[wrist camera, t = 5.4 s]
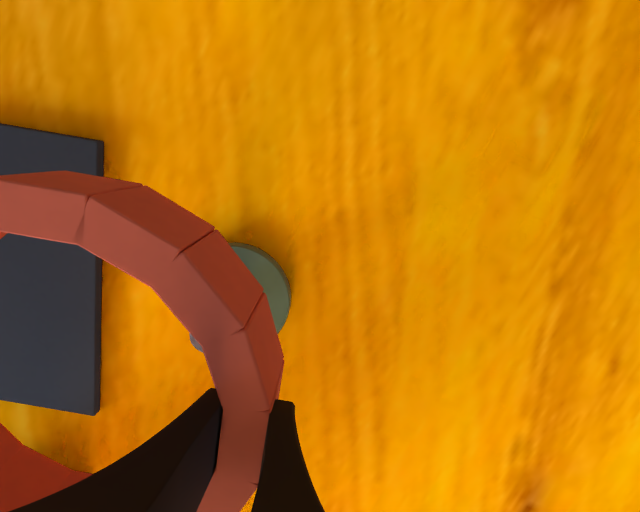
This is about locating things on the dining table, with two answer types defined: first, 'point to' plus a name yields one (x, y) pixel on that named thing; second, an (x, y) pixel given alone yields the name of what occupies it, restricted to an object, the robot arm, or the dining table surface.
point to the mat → (49, 289)
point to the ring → (180, 297)
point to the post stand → (264, 282)
